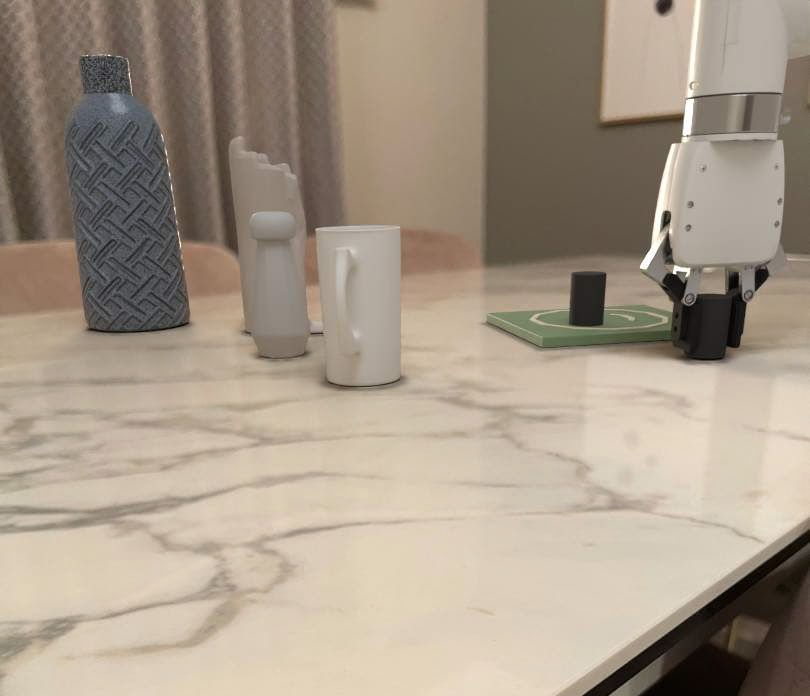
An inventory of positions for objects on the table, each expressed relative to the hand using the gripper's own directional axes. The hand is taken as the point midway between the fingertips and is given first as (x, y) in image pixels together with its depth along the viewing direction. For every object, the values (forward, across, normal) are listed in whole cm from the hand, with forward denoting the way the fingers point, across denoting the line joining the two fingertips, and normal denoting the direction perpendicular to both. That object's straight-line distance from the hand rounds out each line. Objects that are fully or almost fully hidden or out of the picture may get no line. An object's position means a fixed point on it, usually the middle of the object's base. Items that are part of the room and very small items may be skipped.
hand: (705, 345), depth 77 cm
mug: (+1, +32, +1) cm, 32 cm away
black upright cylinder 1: (0, +5, -16) cm, 16 cm away
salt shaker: (+1, +37, -14) cm, 40 cm away
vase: (+1, +52, -39) cm, 65 cm away
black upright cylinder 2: (+1, 0, 0) cm, 1 cm away
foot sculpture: (+1, +33, -29) cm, 44 cm away
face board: (+1, +2, -18) cm, 18 cm away
